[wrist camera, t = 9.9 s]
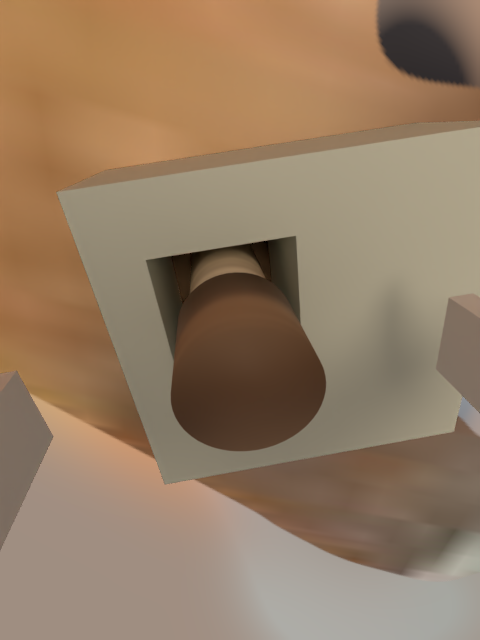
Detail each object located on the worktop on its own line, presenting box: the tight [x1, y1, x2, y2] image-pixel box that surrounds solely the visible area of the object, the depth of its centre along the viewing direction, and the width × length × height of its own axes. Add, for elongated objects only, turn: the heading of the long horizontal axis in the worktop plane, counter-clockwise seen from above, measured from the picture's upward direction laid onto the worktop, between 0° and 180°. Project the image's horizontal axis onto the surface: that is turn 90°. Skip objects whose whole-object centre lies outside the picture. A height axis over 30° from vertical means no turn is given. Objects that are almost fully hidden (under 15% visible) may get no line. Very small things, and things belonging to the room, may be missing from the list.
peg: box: [171, 243, 326, 451], centre depth 15 cm, size 4×4×12 cm
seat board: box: [56, 121, 480, 484], centre depth 18 cm, size 15×16×7 cm
